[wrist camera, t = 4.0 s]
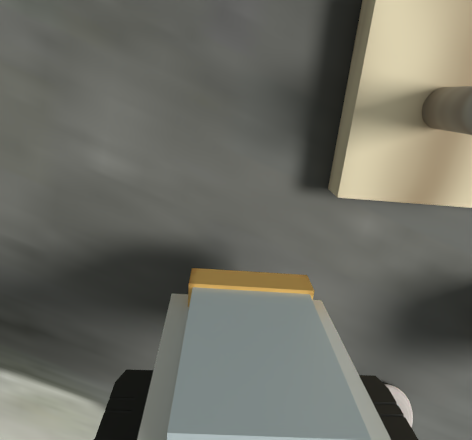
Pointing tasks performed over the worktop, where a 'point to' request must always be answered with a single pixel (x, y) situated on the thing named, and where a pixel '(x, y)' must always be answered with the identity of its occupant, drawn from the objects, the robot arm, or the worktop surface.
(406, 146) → the pin board
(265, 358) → the sleeve
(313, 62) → the worktop surface
